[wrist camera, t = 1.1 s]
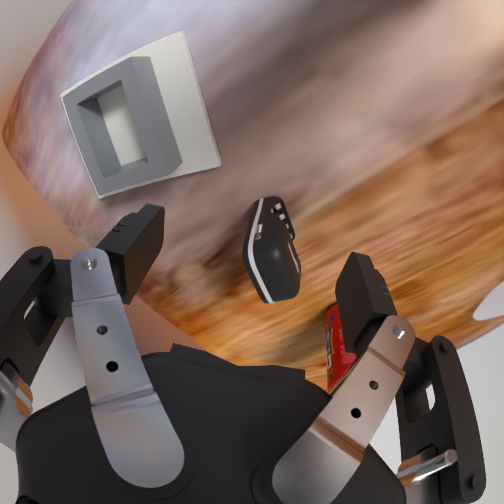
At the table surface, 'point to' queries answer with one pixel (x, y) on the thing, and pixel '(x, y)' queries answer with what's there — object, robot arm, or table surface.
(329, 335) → the soda can
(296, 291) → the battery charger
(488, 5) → the table surface
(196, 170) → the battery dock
